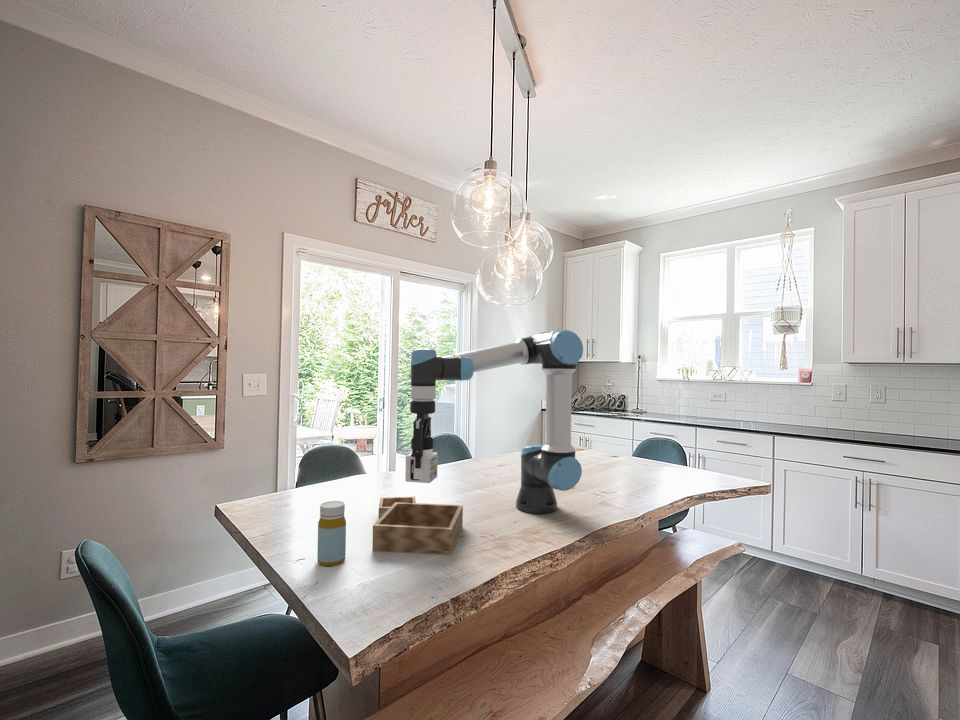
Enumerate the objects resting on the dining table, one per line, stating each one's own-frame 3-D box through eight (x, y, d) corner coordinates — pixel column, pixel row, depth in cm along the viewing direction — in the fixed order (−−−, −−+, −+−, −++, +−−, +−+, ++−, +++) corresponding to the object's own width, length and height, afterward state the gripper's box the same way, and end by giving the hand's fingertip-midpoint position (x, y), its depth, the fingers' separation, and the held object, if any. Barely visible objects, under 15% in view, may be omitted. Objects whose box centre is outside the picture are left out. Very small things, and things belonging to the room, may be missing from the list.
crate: (462, 526, 150) (462, 505, 150) (451, 554, 127) (452, 529, 128) (394, 523, 152) (395, 502, 152) (372, 550, 130) (372, 525, 130)
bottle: (321, 556, 125) (322, 500, 126) (347, 555, 126) (348, 500, 126) (314, 567, 118) (315, 508, 119) (342, 566, 119) (343, 508, 119)
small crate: (415, 513, 163) (415, 496, 163) (415, 524, 151) (416, 506, 151) (380, 514, 161) (380, 497, 161) (378, 526, 149) (378, 508, 149)
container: (430, 483, 135) (430, 438, 136) (404, 481, 137) (405, 437, 137) (437, 477, 143) (438, 435, 143) (413, 475, 144) (414, 434, 145)
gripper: (418, 397, 151) (417, 467, 151) (401, 402, 130) (400, 483, 130) (441, 398, 150) (440, 468, 150) (427, 402, 129) (426, 484, 129)
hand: (421, 475), depth 140 cm, fingers closed on container, 8 cm apart
